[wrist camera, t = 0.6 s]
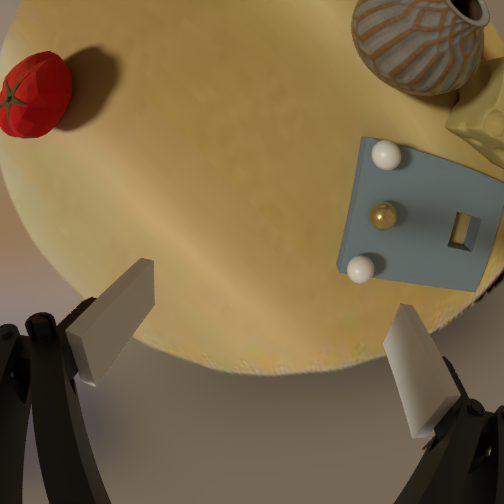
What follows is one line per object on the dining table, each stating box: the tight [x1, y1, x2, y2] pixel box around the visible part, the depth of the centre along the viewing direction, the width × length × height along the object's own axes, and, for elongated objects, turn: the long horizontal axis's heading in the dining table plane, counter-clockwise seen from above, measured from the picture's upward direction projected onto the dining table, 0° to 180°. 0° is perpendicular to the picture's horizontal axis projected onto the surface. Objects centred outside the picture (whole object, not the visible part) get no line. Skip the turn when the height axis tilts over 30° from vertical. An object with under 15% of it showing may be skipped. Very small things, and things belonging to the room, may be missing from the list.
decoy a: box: [372, 140, 401, 170], centre depth 27 cm, size 3×3×3 cm
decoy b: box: [347, 255, 374, 284], centre depth 32 cm, size 3×3×3 cm
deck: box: [337, 137, 504, 292], centre depth 31 cm, size 16×22×2 cm
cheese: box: [445, 57, 504, 169], centre depth 21 cm, size 10×11×10 cm
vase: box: [351, 0, 490, 96], centre depth 17 cm, size 13×13×18 cm
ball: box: [369, 201, 397, 231], centre depth 29 cm, size 3×3×3 cm
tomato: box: [0, 51, 73, 139], centre depth 27 cm, size 13×12×11 cm
